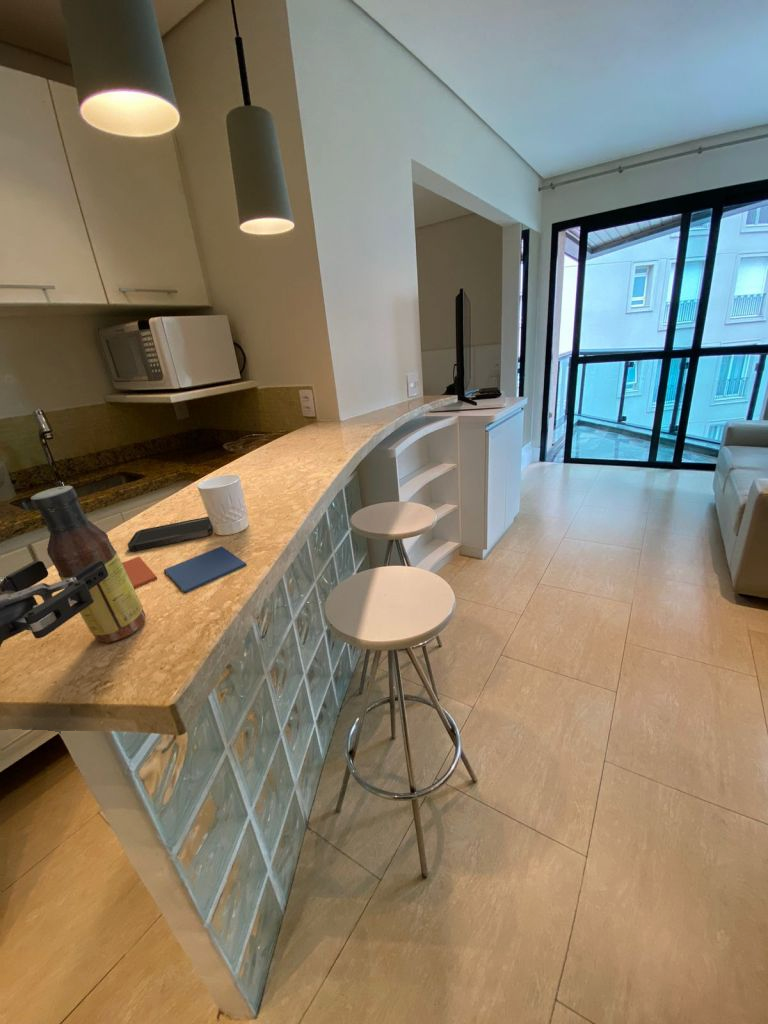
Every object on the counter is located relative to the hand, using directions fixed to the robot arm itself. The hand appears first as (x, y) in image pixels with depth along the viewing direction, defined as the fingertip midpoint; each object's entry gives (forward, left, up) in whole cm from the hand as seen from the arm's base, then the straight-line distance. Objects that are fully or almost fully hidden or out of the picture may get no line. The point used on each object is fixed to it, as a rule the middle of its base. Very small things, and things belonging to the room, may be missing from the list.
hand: (72, 567), depth 48 cm
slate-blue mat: (+16, +8, -11) cm, 21 cm away
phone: (+17, +27, -11) cm, 34 cm away
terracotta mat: (+4, +17, -11) cm, 21 cm away
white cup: (+26, +20, -11) cm, 35 cm away
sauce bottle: (+2, +1, -11) cm, 11 cm away
